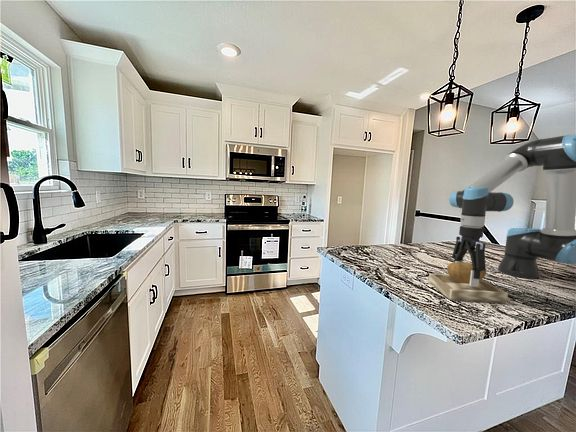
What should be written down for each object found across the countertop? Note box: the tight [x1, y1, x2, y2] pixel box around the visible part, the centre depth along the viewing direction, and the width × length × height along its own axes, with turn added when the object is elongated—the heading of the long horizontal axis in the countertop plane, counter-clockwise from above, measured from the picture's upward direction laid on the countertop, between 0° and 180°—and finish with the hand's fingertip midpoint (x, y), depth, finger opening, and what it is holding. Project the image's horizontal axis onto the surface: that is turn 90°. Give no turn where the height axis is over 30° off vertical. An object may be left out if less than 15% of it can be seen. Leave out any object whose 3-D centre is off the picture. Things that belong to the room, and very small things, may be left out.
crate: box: [428, 273, 509, 305], centre depth 99 cm, size 19×17×4 cm
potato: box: [446, 262, 487, 284], centre depth 98 cm, size 10×14×8 cm
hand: (465, 281), depth 98 cm, fingers closed on potato, 10 cm apart
